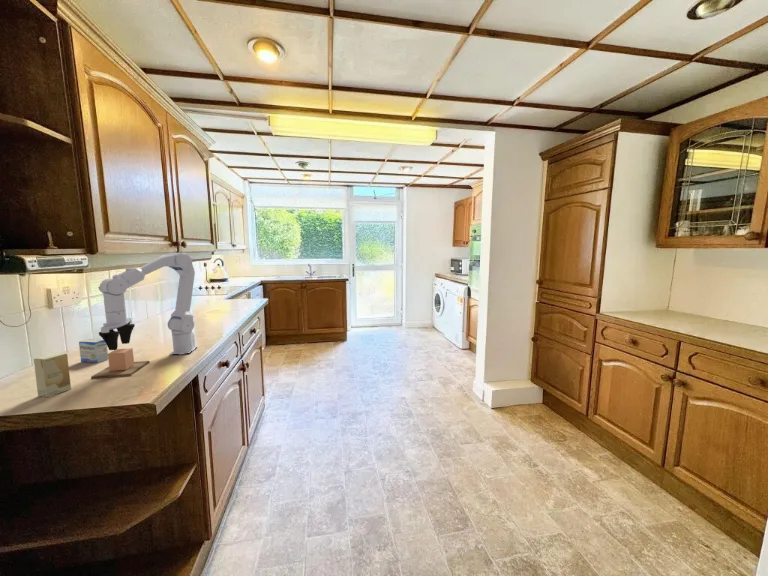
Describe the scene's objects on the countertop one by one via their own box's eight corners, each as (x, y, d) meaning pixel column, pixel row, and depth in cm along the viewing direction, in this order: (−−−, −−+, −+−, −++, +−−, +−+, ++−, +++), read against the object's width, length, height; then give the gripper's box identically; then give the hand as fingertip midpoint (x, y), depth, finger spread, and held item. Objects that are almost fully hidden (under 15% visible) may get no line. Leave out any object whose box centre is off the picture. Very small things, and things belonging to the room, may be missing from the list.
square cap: (118, 365, 117) (116, 349, 116) (134, 364, 118) (132, 348, 117) (109, 370, 112) (107, 353, 111) (126, 369, 113) (124, 352, 112)
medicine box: (80, 362, 123) (77, 341, 122) (92, 358, 127) (89, 338, 126) (97, 363, 122) (95, 342, 121) (109, 359, 127) (106, 339, 125)
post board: (114, 365, 120) (112, 348, 119) (149, 362, 123) (147, 345, 122) (91, 378, 107) (88, 359, 107) (130, 375, 110) (128, 357, 109)
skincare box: (47, 397, 94) (42, 359, 92) (37, 396, 95) (31, 358, 93) (72, 388, 100) (68, 352, 98) (62, 387, 101) (57, 351, 99)
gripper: (115, 307, 118) (119, 341, 120) (88, 315, 104) (93, 353, 106) (136, 307, 120) (139, 340, 122) (112, 314, 106) (117, 352, 108)
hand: (119, 346), depth 114 cm, fingers open, 7 cm apart
